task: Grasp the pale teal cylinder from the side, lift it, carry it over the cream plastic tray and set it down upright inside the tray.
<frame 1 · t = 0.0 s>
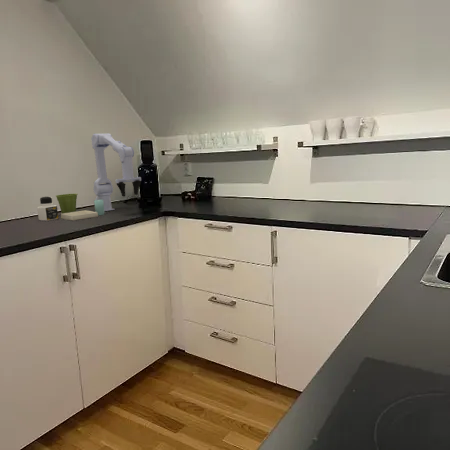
hand: (129, 195, 238), 10 cm above the counter, fingers open, 7 cm apart
cream tray: (79, 217, 237), on the counter
plant pot: (68, 215, 250), on the counter
pale teal cylinder: (100, 214, 245), on the counter
medicine bottle: (48, 219, 236), on the counter
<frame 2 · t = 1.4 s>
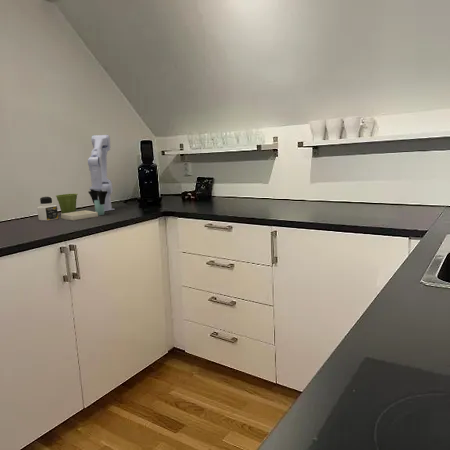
hand: (98, 203, 244), 6 cm above the counter, fingers open, 7 cm apart
nothing on the counter moved.
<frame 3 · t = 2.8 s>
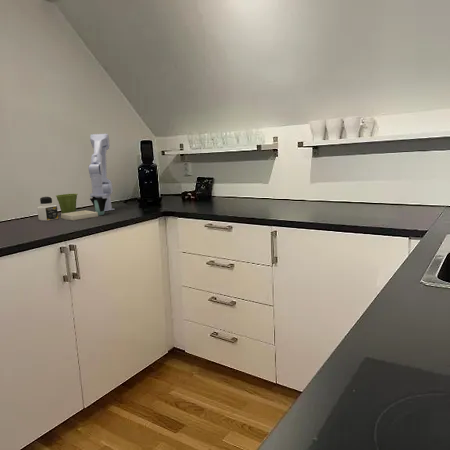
hand: (99, 210, 244), 2 cm above the counter, fingers closed on pale teal cylinder, 5 cm apart
pale teal cylinder: (100, 214, 245), on the counter, touching gripper
everything else where it was.
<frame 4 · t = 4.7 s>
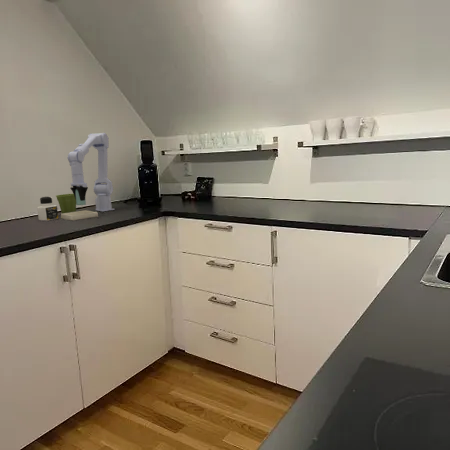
hand: (80, 200, 236), 9 cm above the counter, fingers closed on pale teal cylinder, 5 cm apart
pale teal cylinder: (81, 204, 237), point 7 cm above the counter, touching gripper
everything else where it was.
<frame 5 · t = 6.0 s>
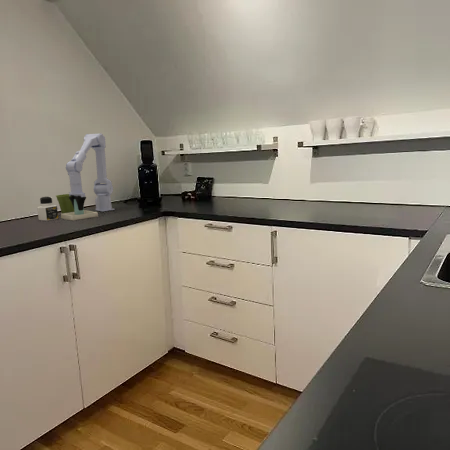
hand: (78, 209, 236), 4 cm above the counter, fingers closed on pale teal cylinder, 5 cm apart
pale teal cylinder: (79, 214, 236), point 2 cm above the counter, touching gripper
everything else where it was.
when the fingers open (4 cm above the counter, at t = 6.9 s): pale teal cylinder drops 1 cm, resting on cream tray.
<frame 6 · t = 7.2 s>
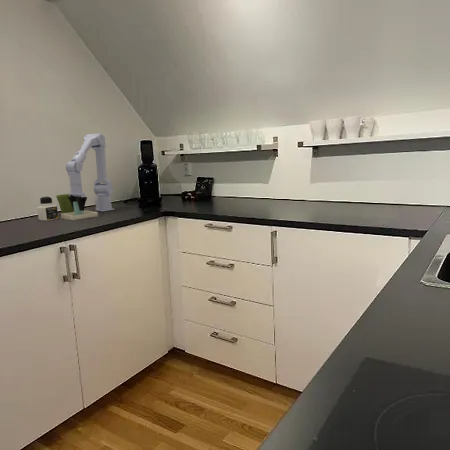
hand: (78, 210, 236), 4 cm above the counter, fingers open, 7 cm apart
pale teal cylinder: (79, 216, 237), point 1 cm above the counter, touching cream tray
everything else where it was.
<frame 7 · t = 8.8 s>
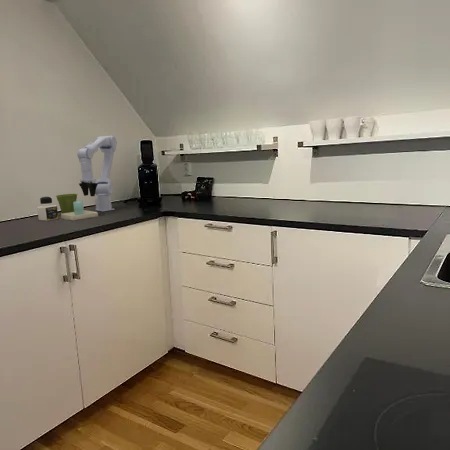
hand: (89, 195, 244), 10 cm above the counter, fingers open, 7 cm apart
nothing on the counter moved.
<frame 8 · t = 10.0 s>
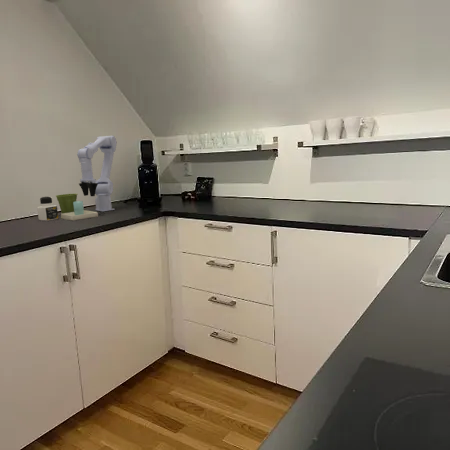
hand: (89, 195, 244), 10 cm above the counter, fingers open, 7 cm apart
nothing on the counter moved.
at the end: pale teal cylinder inside the target area on the cream tray (0.1 cm from its centre), point 0.6 cm above the cream tray's base; pale teal cylinder tilted 1°; the gripper is holding nothing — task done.
